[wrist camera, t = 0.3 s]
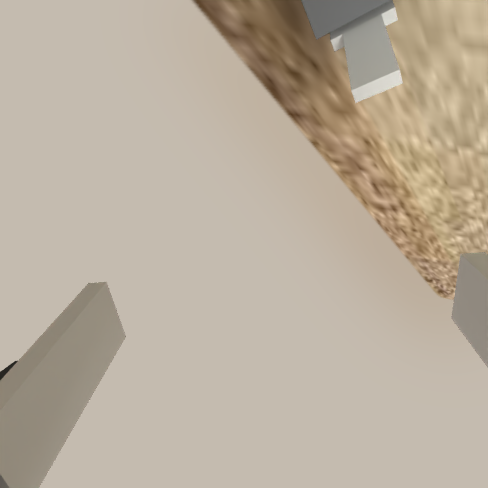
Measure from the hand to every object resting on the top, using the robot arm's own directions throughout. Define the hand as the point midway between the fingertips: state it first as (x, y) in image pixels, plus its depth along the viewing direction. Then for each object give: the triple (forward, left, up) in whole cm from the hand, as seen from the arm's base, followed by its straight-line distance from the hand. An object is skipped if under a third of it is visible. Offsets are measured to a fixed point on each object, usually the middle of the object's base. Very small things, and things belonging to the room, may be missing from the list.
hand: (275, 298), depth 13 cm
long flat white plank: (+3, +5, -35) cm, 35 cm away
